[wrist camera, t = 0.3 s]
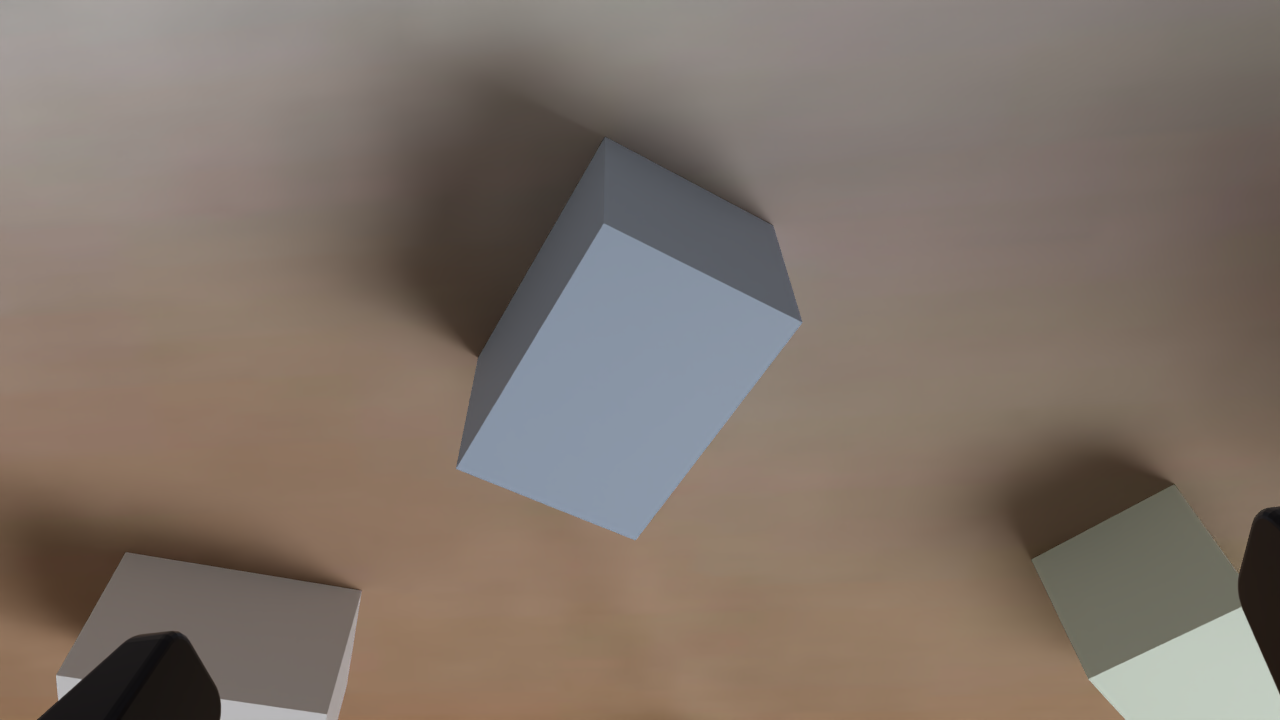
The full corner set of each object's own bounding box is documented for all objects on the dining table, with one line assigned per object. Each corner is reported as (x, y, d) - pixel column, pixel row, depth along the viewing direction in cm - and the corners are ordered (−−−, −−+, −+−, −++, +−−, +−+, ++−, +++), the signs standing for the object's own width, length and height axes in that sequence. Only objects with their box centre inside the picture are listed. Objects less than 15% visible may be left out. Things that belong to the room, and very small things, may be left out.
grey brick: (362, 587, 27) (327, 714, 24) (347, 681, 29) (312, 810, 26) (128, 548, 26) (55, 675, 23) (130, 648, 28) (64, 778, 25)
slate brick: (604, 133, 20) (603, 223, 17) (772, 222, 21) (802, 322, 18) (478, 354, 23) (455, 468, 19) (632, 422, 24) (635, 540, 21)
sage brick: (1260, 604, 28) (1347, 727, 25) (1126, 667, 29) (1192, 792, 26) (1171, 480, 25) (1255, 599, 22) (1029, 555, 27) (1088, 678, 23)
